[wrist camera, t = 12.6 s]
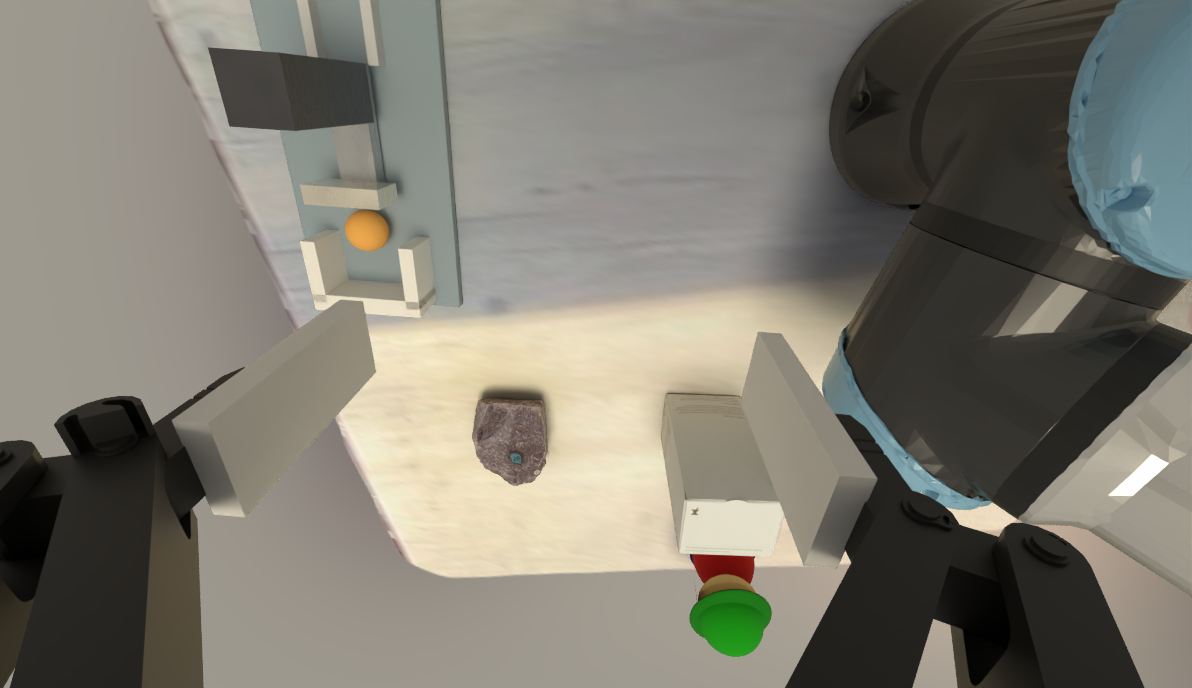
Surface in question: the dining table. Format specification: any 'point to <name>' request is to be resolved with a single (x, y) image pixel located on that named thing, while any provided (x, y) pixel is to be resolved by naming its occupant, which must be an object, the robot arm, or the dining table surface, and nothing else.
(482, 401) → the rock
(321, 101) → the dark textured box
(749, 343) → the dining table surface
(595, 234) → the dining table surface
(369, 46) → the pitch
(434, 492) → the dining table surface
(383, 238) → the ball
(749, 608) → the toy
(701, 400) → the skincare box
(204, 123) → the dining table surface
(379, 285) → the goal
